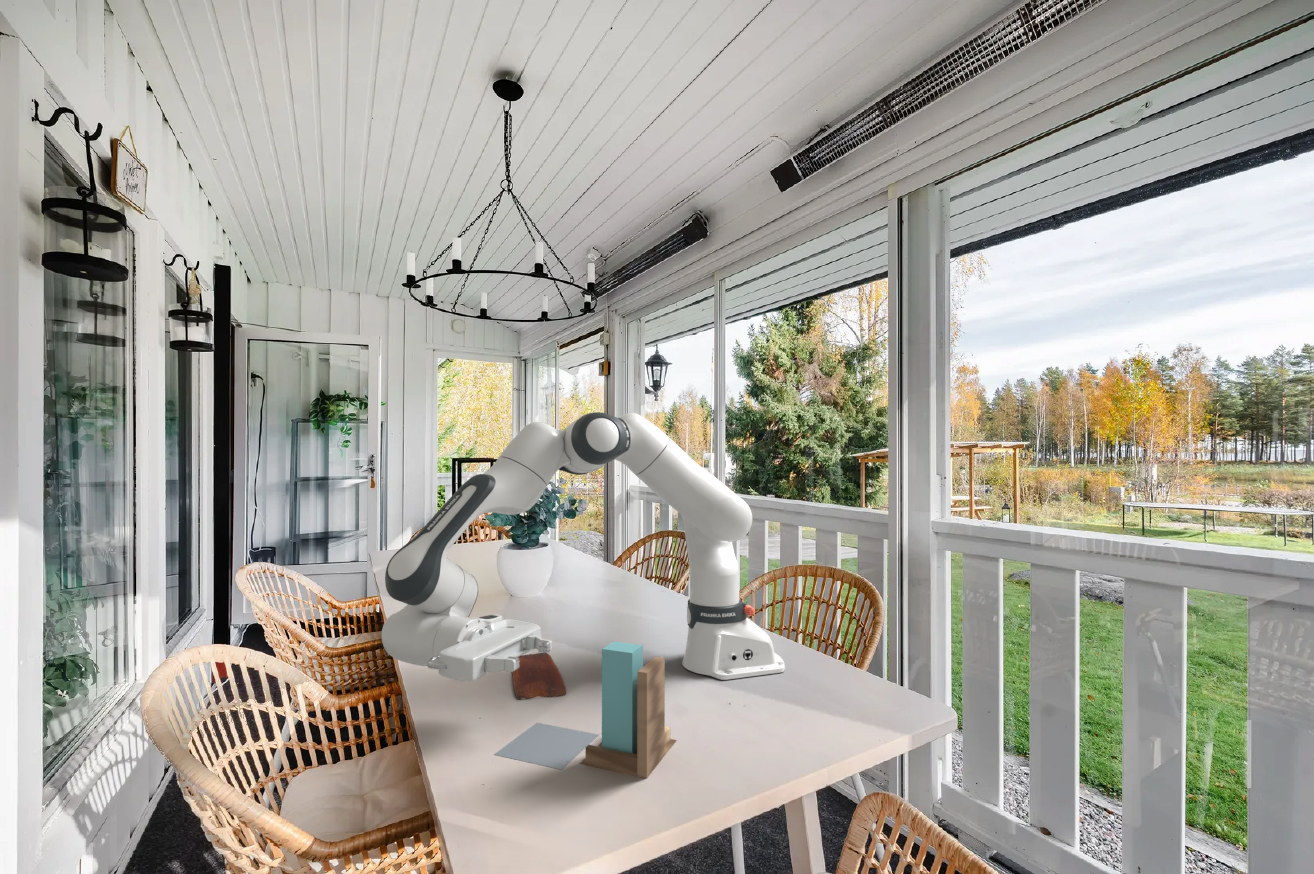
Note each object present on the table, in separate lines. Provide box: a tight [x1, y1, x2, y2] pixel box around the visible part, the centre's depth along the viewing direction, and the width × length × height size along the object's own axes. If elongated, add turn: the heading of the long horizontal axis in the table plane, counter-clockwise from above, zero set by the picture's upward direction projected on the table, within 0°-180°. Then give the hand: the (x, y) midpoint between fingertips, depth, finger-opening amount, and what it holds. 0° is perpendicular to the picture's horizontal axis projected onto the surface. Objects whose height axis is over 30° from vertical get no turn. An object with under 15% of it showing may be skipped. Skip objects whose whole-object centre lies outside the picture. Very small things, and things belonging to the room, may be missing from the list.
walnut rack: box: [579, 656, 678, 779], centre depth 97 cm, size 12×11×16 cm
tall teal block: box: [601, 641, 644, 754], centre depth 95 cm, size 4×5×17 cm
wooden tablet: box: [512, 652, 567, 701], centre depth 133 cm, size 27×10×2 cm, turn 16°
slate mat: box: [493, 722, 600, 771], centre depth 99 cm, size 12×12×1 cm
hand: (533, 655), depth 101 cm, fingers open, 8 cm apart
